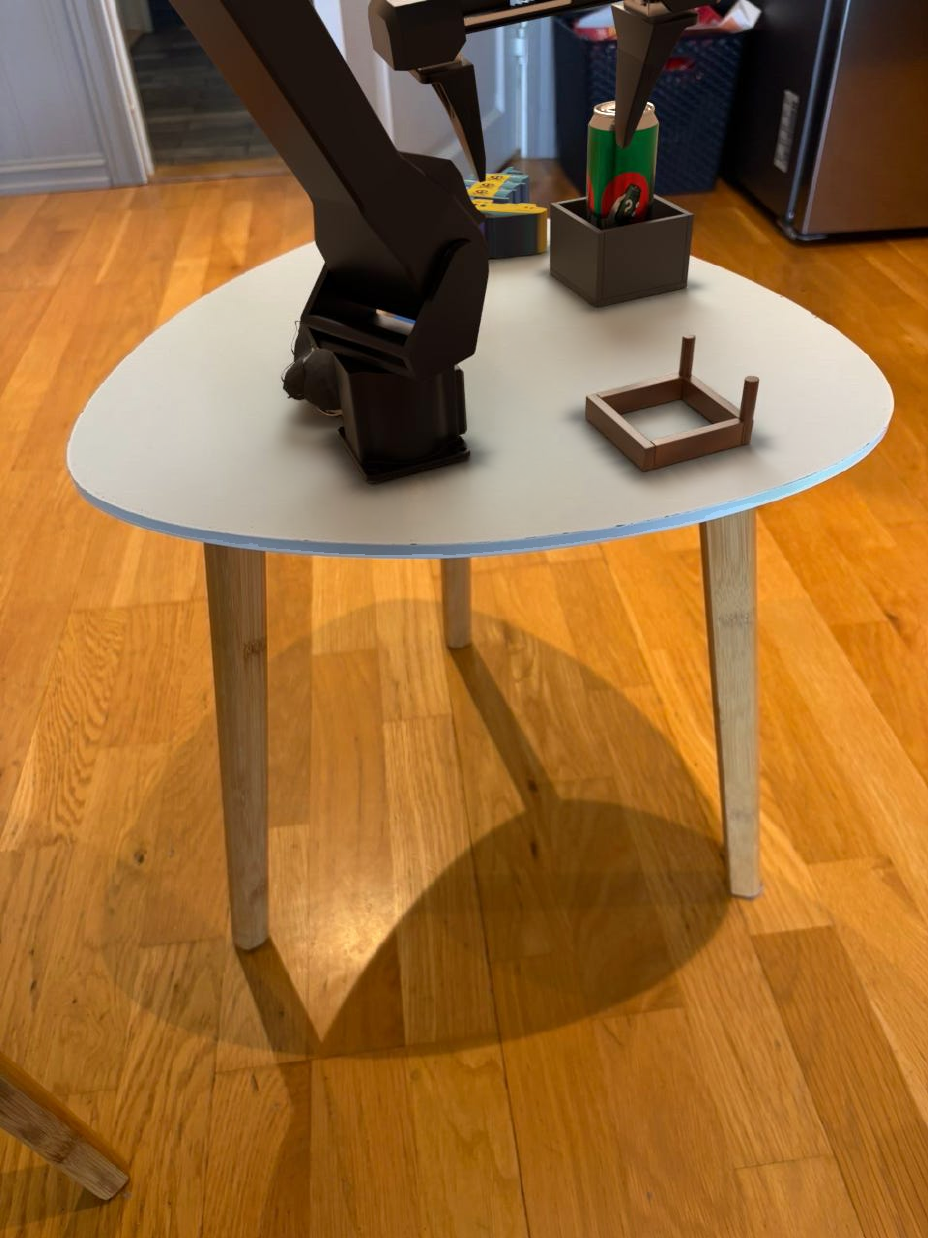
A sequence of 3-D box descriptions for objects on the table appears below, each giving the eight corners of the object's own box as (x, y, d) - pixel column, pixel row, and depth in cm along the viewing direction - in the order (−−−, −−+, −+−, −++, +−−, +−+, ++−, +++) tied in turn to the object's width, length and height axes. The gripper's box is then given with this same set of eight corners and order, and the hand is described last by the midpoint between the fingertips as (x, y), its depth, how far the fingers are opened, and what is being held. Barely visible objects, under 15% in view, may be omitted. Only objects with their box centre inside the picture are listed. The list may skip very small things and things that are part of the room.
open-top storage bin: (595, 307, 72) (598, 233, 68) (549, 273, 77) (549, 203, 74) (687, 287, 74) (694, 214, 70) (635, 255, 79) (639, 186, 76)
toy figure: (312, 334, 71) (277, 423, 59) (309, 249, 67) (272, 326, 55) (406, 341, 71) (391, 432, 59) (409, 256, 67) (393, 335, 56)
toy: (363, 203, 83) (452, 159, 92) (368, 242, 85) (454, 195, 94) (520, 226, 76) (598, 176, 85) (520, 268, 78) (597, 214, 88)
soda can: (661, 272, 75) (675, 104, 67) (619, 291, 72) (628, 119, 64) (612, 258, 78) (620, 95, 70) (570, 276, 75) (573, 109, 67)
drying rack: (643, 472, 54) (649, 408, 51) (584, 416, 59) (586, 356, 56) (752, 442, 55) (762, 379, 53) (684, 391, 61) (691, 331, 58)
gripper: (642, -206, 53) (638, 96, 64) (322, -147, 51) (375, 156, 62) (739, -199, 45) (716, 144, 56) (366, -128, 43) (418, 215, 54)
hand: (552, 162), depth 57 cm, fingers open, 9 cm apart
